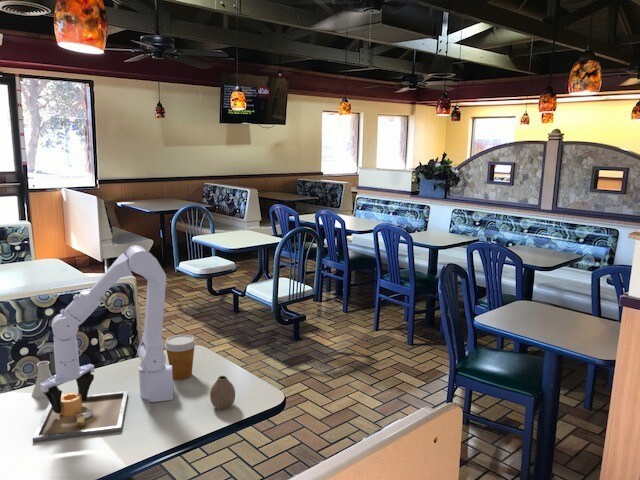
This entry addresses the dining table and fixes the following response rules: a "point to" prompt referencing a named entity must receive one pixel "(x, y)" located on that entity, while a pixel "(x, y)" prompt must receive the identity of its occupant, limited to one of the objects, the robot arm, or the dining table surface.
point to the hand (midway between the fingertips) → (70, 406)
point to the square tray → (88, 415)
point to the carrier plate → (102, 417)
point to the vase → (222, 393)
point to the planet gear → (71, 404)
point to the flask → (41, 378)
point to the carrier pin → (81, 421)
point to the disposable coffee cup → (180, 355)
